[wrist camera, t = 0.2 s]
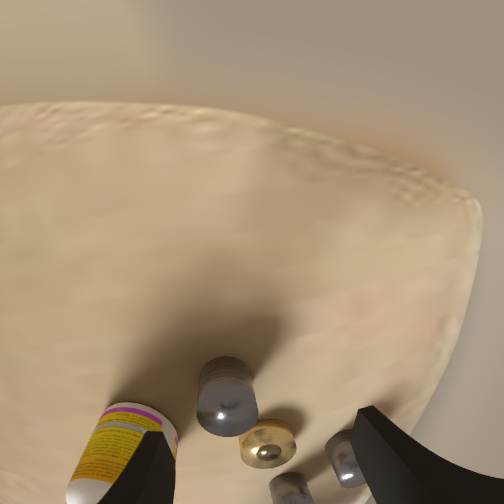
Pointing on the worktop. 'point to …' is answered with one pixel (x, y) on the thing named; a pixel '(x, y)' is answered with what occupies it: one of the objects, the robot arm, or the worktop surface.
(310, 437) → the worktop surface
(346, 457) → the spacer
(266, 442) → the nut
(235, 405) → the grey metal cylinder
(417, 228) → the worktop surface
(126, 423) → the supplement bottle
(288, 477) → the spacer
